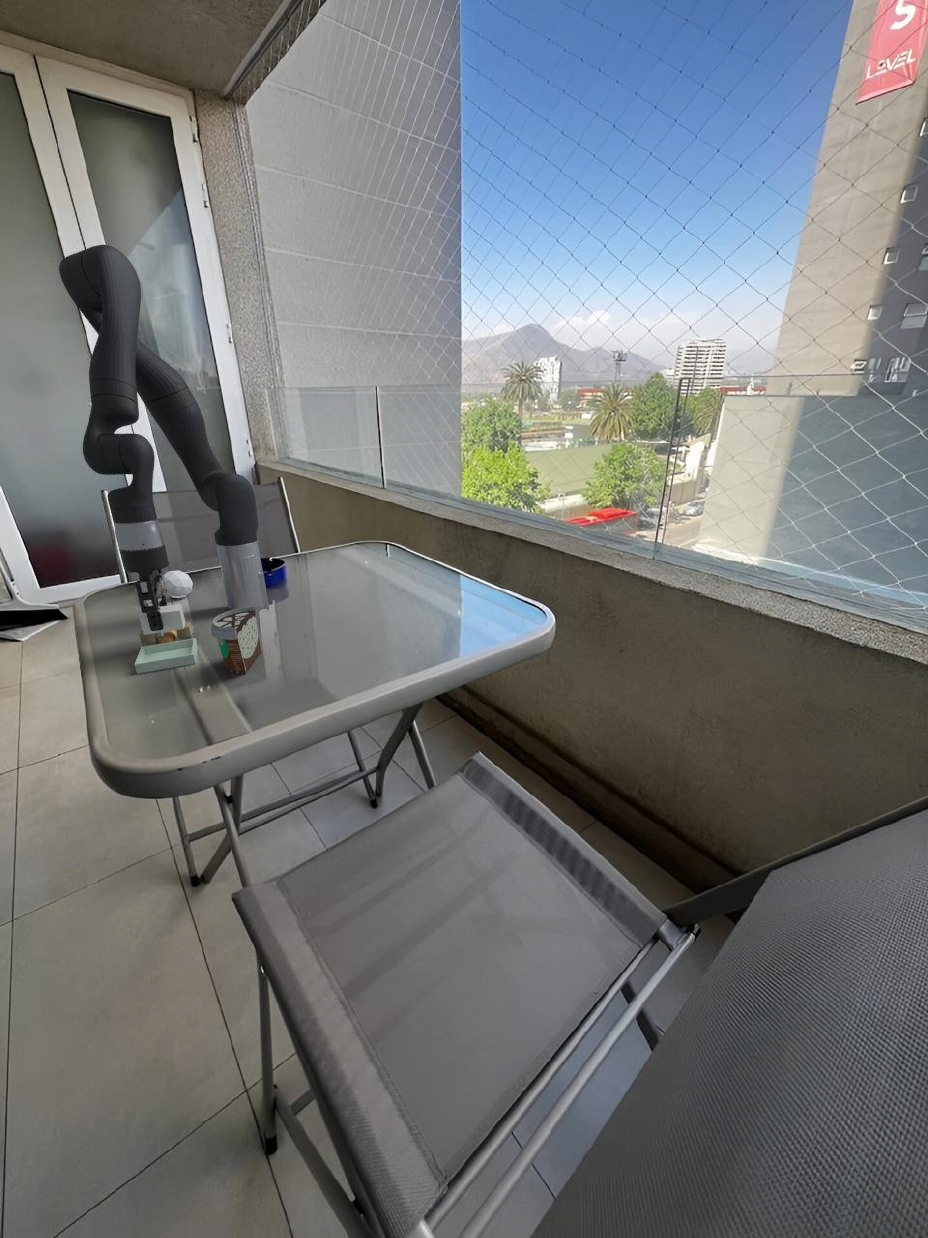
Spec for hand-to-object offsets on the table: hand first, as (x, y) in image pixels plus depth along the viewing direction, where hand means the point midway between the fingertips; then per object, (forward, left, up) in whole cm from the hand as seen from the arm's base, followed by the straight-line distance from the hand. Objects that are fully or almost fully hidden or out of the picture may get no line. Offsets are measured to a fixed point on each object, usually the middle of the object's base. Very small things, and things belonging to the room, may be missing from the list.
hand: (160, 623), depth 99 cm
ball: (0, -38, -6) cm, 38 cm away
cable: (-1, -2, -5) cm, 5 cm away
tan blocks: (-1, 0, -5) cm, 5 cm away
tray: (-1, +8, -5) cm, 9 cm away
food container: (-13, +16, -6) cm, 21 cm away
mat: (-1, +3, -6) cm, 7 cm away
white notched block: (-1, 0, -1) cm, 1 cm away
